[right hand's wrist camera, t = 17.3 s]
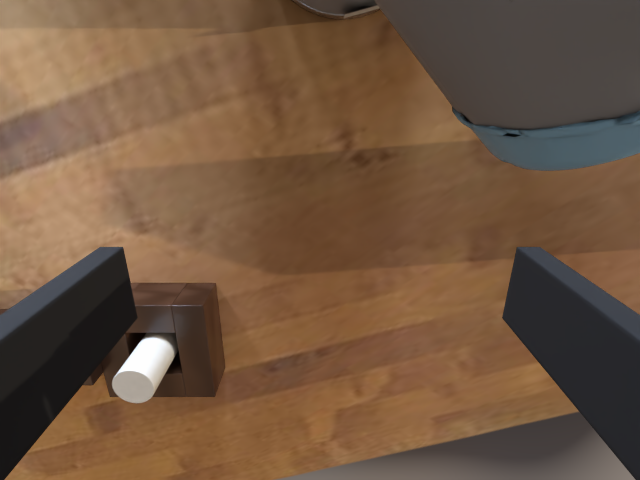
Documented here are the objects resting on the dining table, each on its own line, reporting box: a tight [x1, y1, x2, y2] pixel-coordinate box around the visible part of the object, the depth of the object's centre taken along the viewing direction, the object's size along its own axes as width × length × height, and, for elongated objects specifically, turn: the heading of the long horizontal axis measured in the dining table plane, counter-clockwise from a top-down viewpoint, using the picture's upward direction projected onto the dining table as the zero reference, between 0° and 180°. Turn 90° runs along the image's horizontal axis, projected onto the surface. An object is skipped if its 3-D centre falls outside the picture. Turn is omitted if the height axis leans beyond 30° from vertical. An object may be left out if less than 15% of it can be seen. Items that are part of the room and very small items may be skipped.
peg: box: [112, 332, 179, 403], centre depth 40 cm, size 4×4×10 cm
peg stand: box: [0, 283, 225, 397], centre depth 41 cm, size 32×12×7 cm, turn 90°
